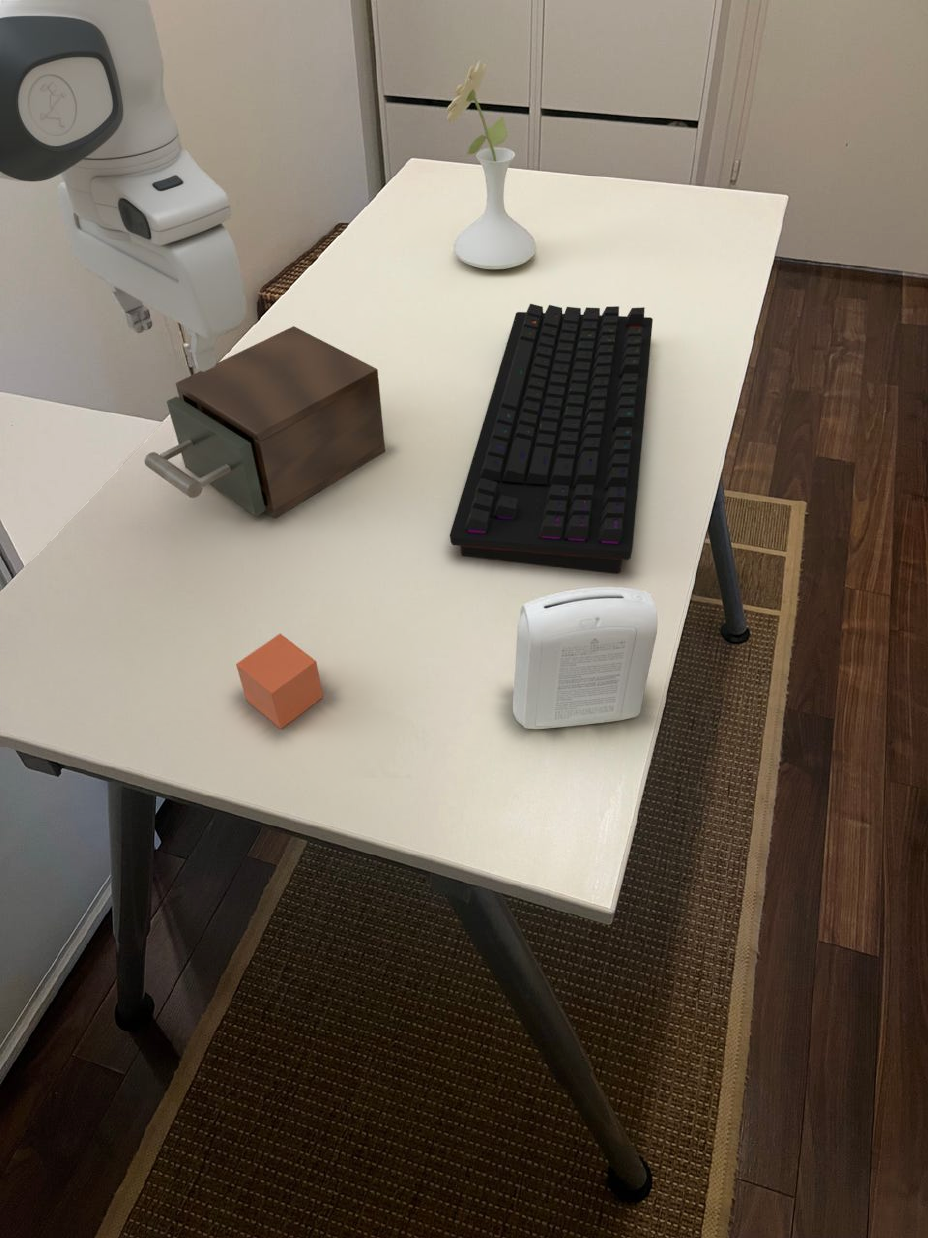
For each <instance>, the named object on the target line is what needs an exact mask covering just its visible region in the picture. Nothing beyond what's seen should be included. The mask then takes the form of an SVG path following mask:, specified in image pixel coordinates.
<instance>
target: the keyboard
mask: <svg viewBox="0 0 928 1238" xmlns="http://www.w3.org/2000/svg"><path fill="white" fill-rule="evenodd" d="M645 309H646V307H643V306H642V307H631V309H630V311H629V312H628V314H627V316H623V315H620V306H619V305H618V306H616V305H615V306H606V307H605V309H604V311H603V312H602V314H601V308H600V307H585V309H584V311H583V314H582V308H581V307H574V306H566V308H565V311H564V313H563V307H560V306H556V305H552V304H548V306H547V308H546V311H545V312H544V307H543V306H542V305H538V304H535V303H534V304H533V303H529V305H528V307H527V310H526V311H517V312H515V314H514V315H515V316H514V317H513V318H514V319H513V322H512V326H511V328H510V332H509V335H508V339H507V342H506V345H505V348H504V352H503V356H502V359H501V362H500V365H499V369H498V372H497V376H496V379H495V382H494V385H493V389H492V392H491V396H490V399H489V402H488V404H487V405H488V406H487V409H486V412H485V416H484V419H483V422H482V426H481V430H480V433H479V435H478V439H477V443H476V445H475V449H474V452H473V455H472V459H471V461H470V462H471V463H470V466H469V469H468V473H467V475H466V480H465V482H464V486H463V489H462V493H461V496H460V499H459V502H458V506H457V509H456V514H455V516H454V519H453V522H452V526H451V528H450V529H451V530H450V533H449V539H450V542H451V545H452V546H459V547H460V555H461V556H462V557H468V558H477V559H487V560H495V561H502V562H503V561H504V562H512V563H513V562H514V563H522V564H528V565H529V564H531V565H537V566H538V565H539V566H548V567H556V568H566V569H573V570H580V571H581V570H582V571H589V572H600V573H609V574H616V575H617V574H620V573H621V569H622V563H623V560H624V561H629V560H630V559H632V553H633V549H634V548H633V546H634V536H635V525H636V514H637V502H638V491H639V480H640V468H641V457H642V445H643V434H644V422H645V411H646V399H647V389H648V380H649V379H648V378H649V366H650V356H651V345H652V344H651V343H652V333H653V321H654V318H653V317H647V316H645Z"/></svg>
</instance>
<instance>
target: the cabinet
mask: <svg viewBox="0 0 928 1238" xmlns="http://www.w3.org/2000/svg"><path fill="white" fill-rule="evenodd" d="M175 387H176V391H177V394H178V398H180V399H182V400H183V401H185V402H186V403H188V404H190V405H191V406H193V407H194V408H196V409H197V410H198V407H197V403H198V404H199V405H201V406H202V407H204V408H206V409H207V410H209V411H210V412H212V413H214V414H215V415H217V416H218V417H220V418H222V419H223V420H225V421H226V422H228V423H230V424H231V425H233V426H234V427H236V428H238V429H239V430H241V431H242V432H244V433H246V434H247V435H249V436H250V437H252V438H254V443H255V448H256V453H257V457H258V462H259V467H260V471H261V476H262V481H263V485H264V490H265V493H264V492H262V491H261V493H262V497H263V502H264V506H265V511H264V512H265V513H267V514H268V515H269V516H271V517H273V518H274V519H277V518H278V517H280V516H282V515H283V514H286V513H287V512H288V511H290V510H291V509H293V508H295V507H296V506H298V505H299V504H302V503H303V502H305V501H307V500H308V499H309V498H311V497H313V496H315V495H316V494H318V493H320V492H321V491H323V490H324V489H326V488H327V487H330V486H331V485H332V484H335V483H336V482H338V481H339V480H341V479H343V478H344V477H345V476H347V475H349V474H351V473H353V472H354V471H355V470H357V469H359V468H361V467H362V466H364V465H365V464H367V463H368V462H371V461H372V460H374V459H375V458H377V457H378V456H380V455H382V454H384V453H385V452H386V448H385V447H386V446H385V434H384V423H383V413H382V403H381V402H382V401H381V391H380V390H381V389H380V380H379V371H378V369H377V368H376V367H375V366H373V365H370V364H368V363H367V362H365V361H362V360H361V359H359V358H357V357H355V356H353V355H351V354H350V353H348V352H345V351H343V350H341V349H339V348H338V347H336V346H334V345H332V344H329V343H327V342H326V341H324V340H322V339H320V338H318V337H316V336H314V335H312V334H310V333H308V332H306V331H304V330H302V329H300V328H298V327H297V326H295V325H292V326H290V327H289V328H287V329H284V330H283V331H281V332H278V333H277V334H275V335H272V336H270V337H268V338H266V339H264V340H262V341H260V342H258V343H255V344H253V345H252V346H250V347H246V348H245V349H243V350H241V351H239V352H237V353H235V354H233V355H231V356H229V357H227V358H224V359H222V360H220V361H217V363H216V365H215V366H214V367H213V368H211V369H209V370H206V371H204V372H202V371H198V372H195V373H193V374H191V375H190V376H188V377H185V378H183V379H181V380H179V381H177V382H175Z"/></svg>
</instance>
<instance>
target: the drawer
mask: <svg viewBox="0 0 928 1238" xmlns="http://www.w3.org/2000/svg"><path fill="white" fill-rule="evenodd" d="M166 404H167V408H168V411H169V412H168V413H169V415H170V419H171V422H172V426H173V430H174V432H175V437H176V440H177V443H178V444H176V445H175V446H173V447H170V448H169V449H168V450H165V451H163V452H162V453H160V454H159V453H158V452H155V451H152V452H149V453H148V454H147V455H146V456H145V458H144V465H145V466H146V467H147V468H148V469H149V470H151V471H152V472H154V473H155V474H157V476H159V477H161V478H162V479H163V480H165V481H166V482H168V483H169V484H170V485H172V486H173V487H175V488H176V489H177V490H179V491H180V492H181V493H183V494H184V495H185V496H188V497H189V498H190V499H195V498H198V497H199V496H201V494H202V491H203V487H206V486H207V485H210V486H211V487H212V488H214V489H215V490H217V491H218V492H220V493H221V494H223V495H224V496H225V497H227V498H228V499H230V500H231V501H233V502H234V503H236V504H237V505H238V506H239V507H242V508H243V509H244V510H246V511H247V512H249V513H250V514H252V515H253V516H255V517H257V516H259V515H260V514H263V513H264V512H265V506H264V502H263V497H262V493H261V491H262V492H264V493H265V490H264V485H263V481H262V476H261V471H260V467H259V462H258V457H257V453H256V448H255V443H254V438H252V437H250V436H249V435H247V434H246V433H244V432H242V431H241V430H239V429H238V428H236V427H234V426H233V425H231V424H230V423H228V422H226V421H225V420H223V419H222V418H220V417H218V416H217V415H215V414H214V413H212V412H210V411H209V410H207V409H206V408H204V407H202V406H201V405H199V404H198V403H197V407H198V410H197V409H196V408H194V407H193V406H191V405H190V404H188V403H186V402H185V401H183V400H182V399H180V398H179V396H175V397H172V398H171V399H169V400H166ZM178 455H181V457H182V460H183V464H184V467H185V469H186V470H188V471H189V472H190V473H192V474H193V475H195V476H196V477H198V479H196V478H194V477H193V476H191V475H189V473H186V472H185V471H183V470H182V469H180V468H179V467H178V466H176V465H175V464H173V463H172V462H171V461H169V460H170V459H172V458H174V457H176V456H178Z"/></svg>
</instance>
